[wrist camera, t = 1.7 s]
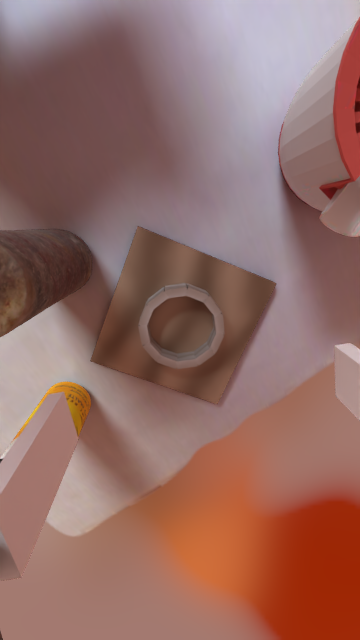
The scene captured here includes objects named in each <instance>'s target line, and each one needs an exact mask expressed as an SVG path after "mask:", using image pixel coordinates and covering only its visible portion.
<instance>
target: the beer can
mask: <svg viewBox="0 0 360 640" xmlns="http://www.w3.org/2000/svg"><path fill="white" fill-rule="evenodd" d="M59 392H64V394H65V397H66V400H67V403H68V406H69V410H70V413H71V416H72V419H73V423H74V426H75V429H76V432H77V435H78V436H79V434H80V431H81V429H82V427H83V424H84V422H85V419H86V417H87V415H88V412H89V410H90V407H91V399H90V396H89V394H88V392H87V391H86V390H85V389H84V388H83V387H82V386H80V385H78V384H76V383H73V382H60V383H57V384H55V385H53V386H52V387H51V388H50V389H49V390H48V391H47V393H46V394H45V396H44V397H43V398H42V400H41V401H40V403H39V404H38V406H37V407H36V408H35V410H34V411H33V413H32V414H31V415H30V417H29V418H28V420H27V421H26V422H25V424H24V425H23V427H22V428H21V429H20V431H19V432H18V434H17V435H16V437H15V438H14V439H13V441H12V442H11V444H10V445H9V446H8V448H7V449H6V451H5V452H4V453H3V455H2V456H1V458H0V459H3V458H4V457H5V456H6V454H7V453H8V451H9V450H10V448H11V447H12V446H13V444H14V443H15V441H16V440H17V438H18V437H19V436H20V434H21V433H22V431H23V430H24V428H25V427H26V426H27V424H28V423H29V421H30V420H31V418H32V417H33V416H34V414H35V413H36V411H37V410H38V408H39V407H40V405H41V404H42V403H43V401H44V400H45V398H46V397H47V395H48V394H53V393H59Z"/></svg>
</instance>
